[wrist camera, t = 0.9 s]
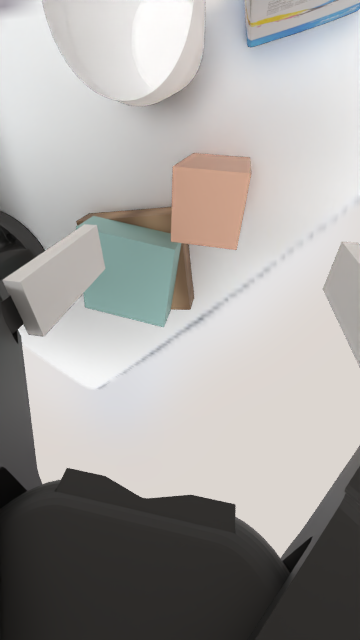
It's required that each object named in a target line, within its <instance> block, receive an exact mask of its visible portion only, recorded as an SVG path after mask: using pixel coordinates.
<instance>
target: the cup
mask: <svg viewBox="0 0 360 640" xmlns="http://www.w3.org/2000/svg"><path fill="white" fill-rule="evenodd" d="M42 4H43V8H44V12H45V15H46V18H47V22H48V25H49V28H50V30H51V33H52V35H53V38H54V40H55V42H56V44H57V46H58V48H59V50H60V52H61V54H62V56H63V57H64V59H65V61H66V62H67V64H68V65H69V67H70V68H71V69H72V71H73V72H74V73H75V74H76V75H77V77H78V78H79V79H80V80H81V81H82V82H83V83H84V84H86V85H87V86H88V87H89V88H90V89H92V90H93V91H95V92H96V93H98V94H100V95H102V96H104V97H106V98H109V99H113V100H116V101H119V102H121V103H123V104H127V105H131V106H148V105H152V104H155V103H158V102H160V101H162V100H164V99H166V98H168V97H170V96H171V95H173V94H175V93H177V92H178V91H180V90H182V89H183V88H185V87H186V86H187V85H188V84H189V83H190V82H191V81H192V79H193V78H194V76H195V75H196V73H197V71H198V69H199V66H200V63H201V60H202V56H203V50H204V36H205V0H42Z"/></svg>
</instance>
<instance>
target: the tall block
mask: <svg viewBox="0 0 360 640" xmlns="http://www.w3.org/2000/svg"><path fill="white" fill-rule="evenodd" d="M250 178H251V162H250V158H249V157H237V156H224V155H212V154H199V153H193V154H191V155H190V156H188V157H187V158H185V159H184V160H182V161H181V162H179V163H177V164H176V165H174V166H173V178H172V216H171V242H177V243H185V244H193V245H201V246H209V247H217V248H225V249H233V250H237V245H238V240H239V234H240V229H241V224H242V219H243V214H244V209H245V204H246V198H247V193H248V188H249V183H250Z"/></svg>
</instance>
